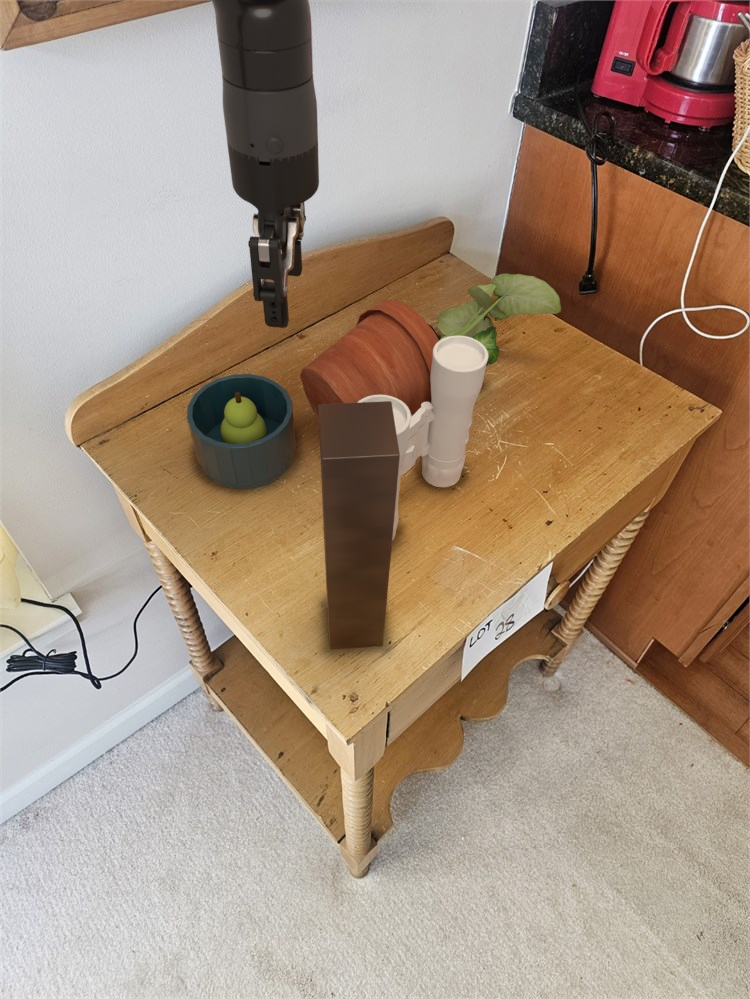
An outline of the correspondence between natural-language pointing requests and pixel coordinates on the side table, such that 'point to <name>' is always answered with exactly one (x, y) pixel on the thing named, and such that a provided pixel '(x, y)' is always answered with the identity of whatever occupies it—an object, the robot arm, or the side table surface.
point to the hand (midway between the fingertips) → (284, 298)
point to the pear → (242, 422)
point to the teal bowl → (243, 460)
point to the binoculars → (440, 414)
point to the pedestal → (357, 517)
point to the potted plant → (416, 343)
